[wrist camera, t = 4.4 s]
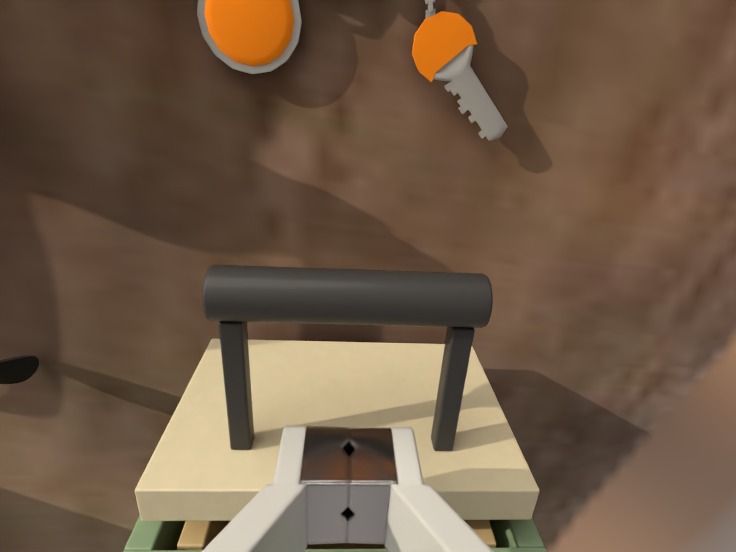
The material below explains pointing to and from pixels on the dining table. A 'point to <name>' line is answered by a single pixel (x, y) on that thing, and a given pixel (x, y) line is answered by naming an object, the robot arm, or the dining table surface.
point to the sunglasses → (17, 369)
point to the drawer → (336, 395)
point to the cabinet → (160, 538)
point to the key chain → (282, 31)
